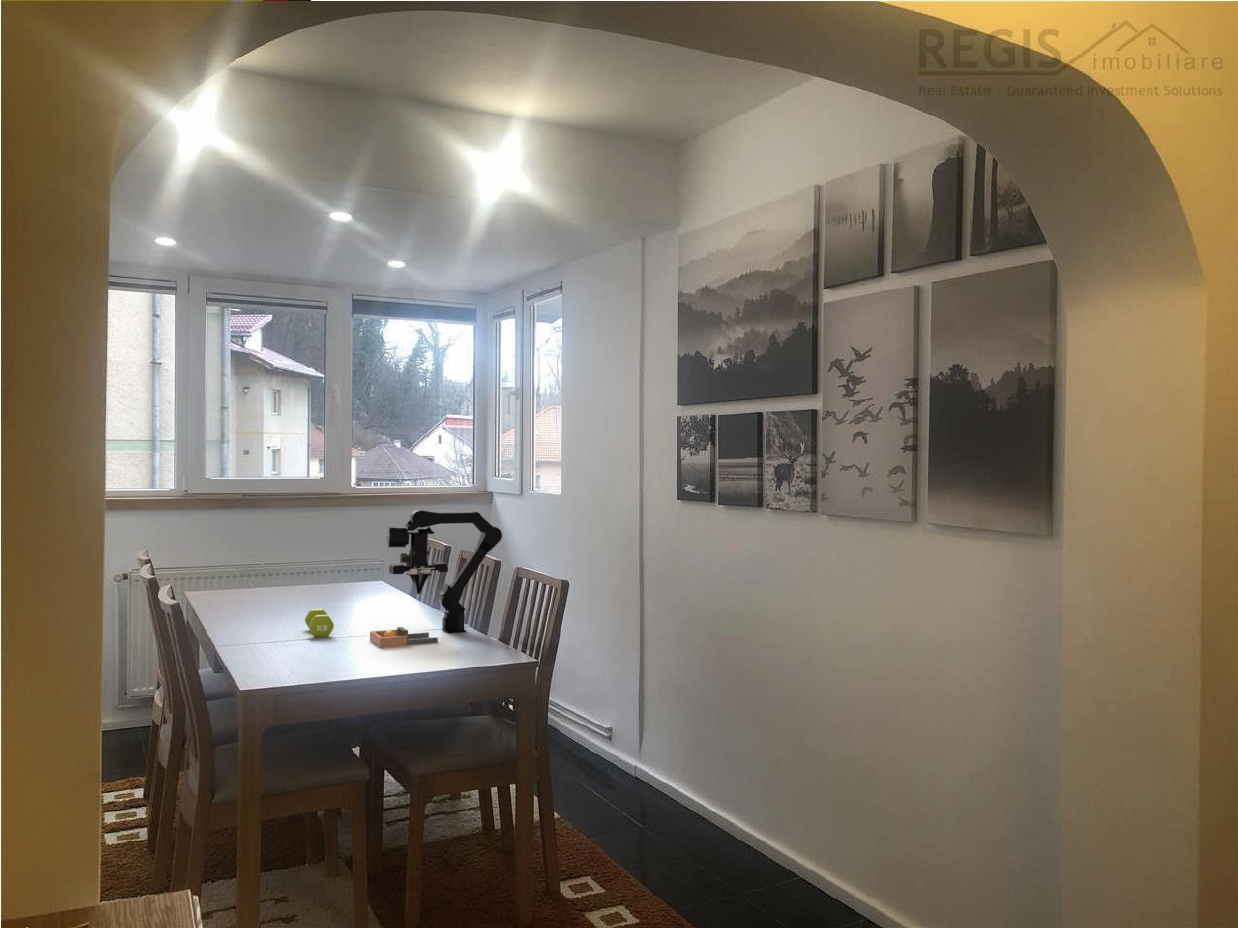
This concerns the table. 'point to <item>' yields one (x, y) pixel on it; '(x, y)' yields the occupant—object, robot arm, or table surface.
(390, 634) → the ball
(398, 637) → the pocket
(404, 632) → the brown wooden block
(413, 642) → the track
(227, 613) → the table surface
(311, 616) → the dumbbell
